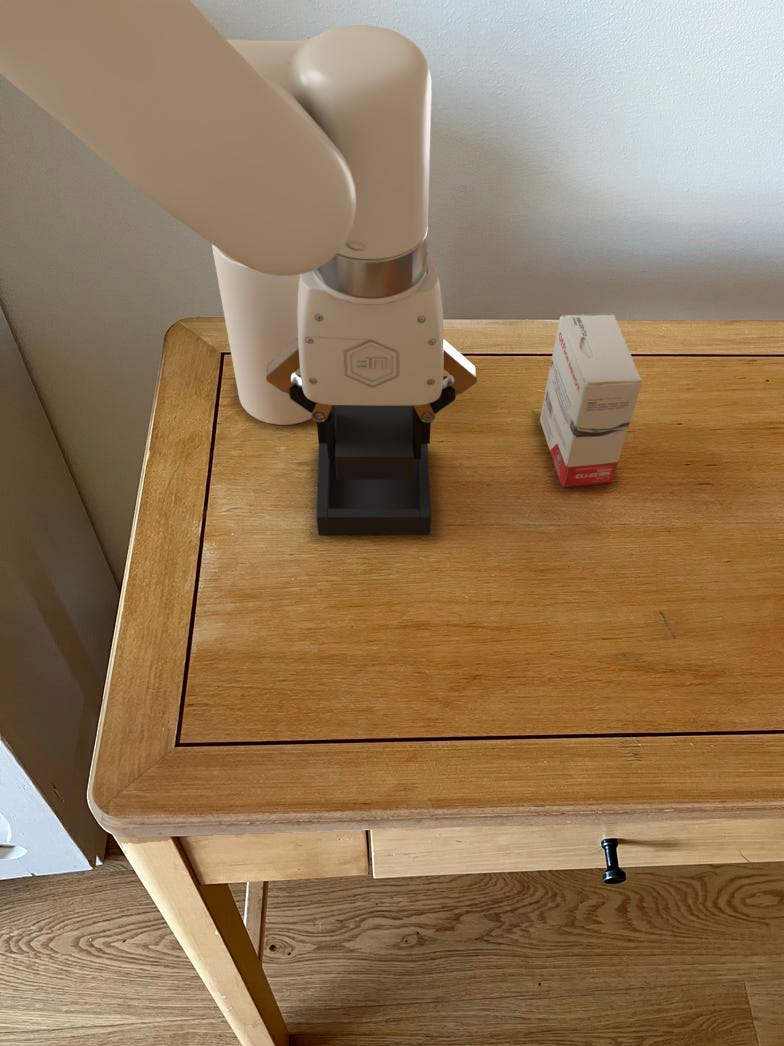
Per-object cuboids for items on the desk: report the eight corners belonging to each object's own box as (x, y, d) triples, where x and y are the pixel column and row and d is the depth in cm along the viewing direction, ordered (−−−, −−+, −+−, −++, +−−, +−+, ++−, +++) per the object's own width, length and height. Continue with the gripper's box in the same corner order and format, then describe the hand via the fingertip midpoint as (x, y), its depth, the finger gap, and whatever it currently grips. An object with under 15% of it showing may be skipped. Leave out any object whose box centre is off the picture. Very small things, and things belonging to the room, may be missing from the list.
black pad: (336, 479, 76) (335, 456, 73) (338, 424, 79) (336, 401, 77) (413, 479, 76) (413, 457, 74) (411, 425, 79) (411, 401, 77)
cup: (224, 413, 85) (193, 255, 72) (258, 353, 90) (234, 194, 76) (313, 433, 85) (298, 278, 71) (342, 372, 89) (333, 216, 76)
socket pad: (318, 535, 79) (316, 517, 77) (320, 452, 84) (319, 433, 82) (430, 535, 80) (431, 517, 78) (426, 453, 85) (427, 434, 83)
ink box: (614, 483, 84) (644, 380, 74) (560, 489, 83) (583, 385, 74) (589, 414, 89) (614, 308, 79) (538, 419, 88) (556, 312, 78)
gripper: (228, 284, 59) (263, 482, 74) (506, 289, 61) (484, 481, 76) (236, 210, 63) (268, 412, 78) (497, 217, 65) (478, 413, 80)
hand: (374, 445), depth 77 cm, fingers closed on black pad, 6 cm apart
